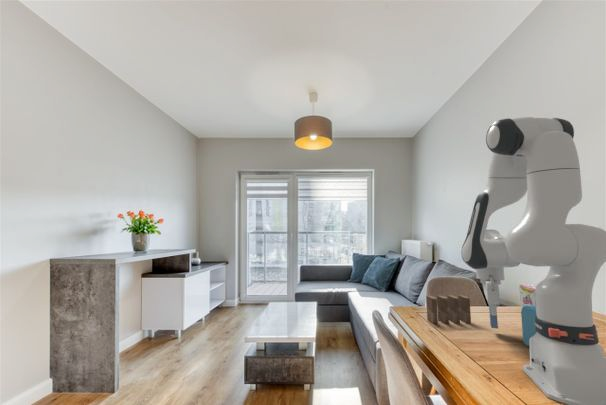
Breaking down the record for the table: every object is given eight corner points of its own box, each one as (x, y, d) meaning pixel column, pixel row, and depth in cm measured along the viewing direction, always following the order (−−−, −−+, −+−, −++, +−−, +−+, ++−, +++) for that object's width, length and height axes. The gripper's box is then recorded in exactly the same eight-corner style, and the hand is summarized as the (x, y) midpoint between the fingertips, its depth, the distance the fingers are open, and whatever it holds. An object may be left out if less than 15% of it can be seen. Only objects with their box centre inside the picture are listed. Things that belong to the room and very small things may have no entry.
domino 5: (496, 325, 110) (494, 296, 111) (498, 328, 105) (495, 299, 107) (490, 324, 111) (488, 296, 112) (491, 327, 106) (489, 298, 108)
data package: (571, 350, 93) (568, 310, 94) (573, 355, 90) (569, 313, 91) (524, 341, 101) (521, 304, 102) (523, 345, 97) (520, 307, 98)
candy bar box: (521, 328, 113) (518, 284, 115) (536, 329, 112) (533, 284, 114) (538, 339, 102) (534, 290, 104) (555, 340, 101) (551, 290, 103)
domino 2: (442, 320, 125) (441, 295, 125) (449, 323, 120) (447, 298, 121) (438, 320, 125) (436, 295, 125) (444, 323, 120) (442, 298, 120)
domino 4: (463, 319, 125) (462, 295, 126) (471, 323, 120) (469, 297, 121) (459, 319, 125) (458, 295, 126) (466, 323, 120) (464, 297, 121)
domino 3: (453, 319, 125) (452, 295, 126) (460, 323, 120) (458, 298, 121) (448, 319, 125) (447, 295, 126) (455, 323, 120) (453, 298, 121)
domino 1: (432, 320, 124) (431, 295, 125) (437, 324, 119) (436, 298, 120) (427, 320, 124) (426, 295, 125) (433, 324, 119) (431, 298, 120)
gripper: (503, 278, 100) (506, 321, 98) (497, 271, 118) (500, 308, 116) (481, 277, 103) (484, 318, 101) (478, 271, 121) (481, 306, 119)
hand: (492, 313), depth 109 cm, fingers closed on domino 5, 5 cm apart
